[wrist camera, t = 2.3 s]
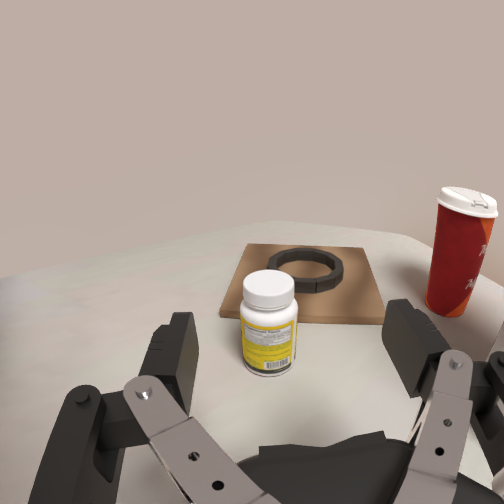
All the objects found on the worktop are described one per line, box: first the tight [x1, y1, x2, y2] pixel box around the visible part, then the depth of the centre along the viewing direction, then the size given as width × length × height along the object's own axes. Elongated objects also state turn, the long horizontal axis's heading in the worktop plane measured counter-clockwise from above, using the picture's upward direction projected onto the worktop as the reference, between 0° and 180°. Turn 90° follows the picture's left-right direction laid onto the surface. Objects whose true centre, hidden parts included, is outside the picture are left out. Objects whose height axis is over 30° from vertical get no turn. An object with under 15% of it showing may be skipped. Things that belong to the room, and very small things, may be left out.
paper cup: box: [425, 187, 498, 317], centre depth 31 cm, size 8×8×14 cm
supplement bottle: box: [240, 270, 298, 377], centre depth 26 cm, size 5×5×8 cm
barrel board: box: [220, 244, 386, 324], centre depth 41 cm, size 18×18×2 cm
